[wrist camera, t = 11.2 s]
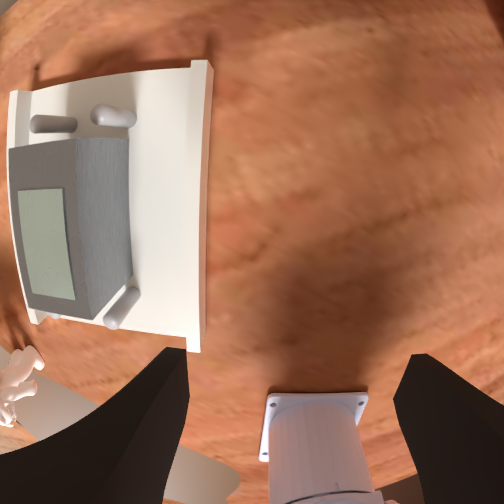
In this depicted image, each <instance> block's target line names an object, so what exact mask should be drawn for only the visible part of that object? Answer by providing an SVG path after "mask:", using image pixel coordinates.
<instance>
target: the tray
mask: <svg viewBox="0 0 504 504" xmlns="http://www.w3.org/2000/svg"><path fill="white" fill-rule="evenodd" d="M213 80H214V70H213V68H212V66H211V65H210V63H209V61H208V60H191V68H174V69H159V70H147V71H137V72H129V73H121V74H114V75H107V76H100V77H95V78H89V79H83V80H78V81H73V82H69V83H64V84H60V85H55V86H51V87H47V88H43V89H39V90H35V91H26V90H15V91H12V92H10V99H9V110H8V126H7V185H8V200H9V212H10V221H11V230H12V237H13V244H14V251H15V257H16V262H17V268H18V273H19V278H20V282H21V287H22V291H23V296H24V300H25V304H26V308H27V311H28V315H29V319H30V322H31V323H33V324H37V325H39V324H40V323H41V322H42V321H43V320H44V319H45V318H46V317H47V316H48V315H50V316H51V317H52V318H54V319H58V318H59V317H60V318H65V319H70V320H75V321H80V322H86V323H91V324H97V325H103V326H106V327H107V328H109V329H111V330H116V329H117V328H121V329H128V330H134V331H142V332H149V333H156V334H164V335H173V336H181V337H186V340H187V351H189V352H198V353H200V352H201V348H202V344H203V341H204V337H205V334H206V219H207V187H208V162H209V142H210V124H211V108H212V94H213ZM73 138H118V139H129V214H130V235H131V251H132V264H133V276H132V277H131V278H130V279H129V280H128V281H127V282H126V283H125V284H124V286H123V287H122V288H121V289H120V290H119V291H118V292H117V293H116V294H115V296H114V297H113V298H112V299H111V300H110V301H109V302H108V303H107V305H106V306H105V307H104V308H103V309H102V310H101V311H100V312H99V314H98V315H97V316H96V317H95V318H94V319H93V320H87V319H82V318H76V317H71V316H65V315H60V314H55V313H50V312H45V311H40V310H36V309H31V308H29V307H28V303H27V299H26V295H25V291H24V287H23V282H22V277H21V273H20V267H19V262H18V257H17V251H16V244H15V238H14V230H13V222H12V213H11V202H10V188H9V156H8V151H9V148H14V147H19V146H25V145H31V144H37V143H44V142H50V141H58V140H65V139H73Z"/></svg>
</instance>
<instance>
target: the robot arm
mask: <svg viewBox="0 0 504 504" xmlns="http://www.w3.org/2000/svg"><path fill="white" fill-rule="evenodd" d="M189 398H190V394H189V383H188V370H187V357H186V349H179V348H171V347H166V348H165V349H163V350H162V351H161V352H160V353H159V354H158V355H157V356H156V357H155V358H154V359H153V360H152V361H151V362H150V363H149V364H148V365H147V366H146V367H145V368H144V369H143V370H142V371H141V372H140V373H139V374H138V375H137V376H136V377H134V378H133V379H132V380H131V381H130V382H129V383H128V384H127V385H126V386H125V387H123V388H122V389H121V390H120V391H119V392H117V393H116V394H115V395H114V396H112V397H111V398H110V399H109V400H107V401H106V402H105V403H104V404H102V405H101V406H100V407H98V408H97V409H96V410H94V411H93V412H91V413H90V414H88V415H87V416H85V417H84V418H82V419H81V420H79V421H78V422H76V423H74V424H73V425H71V426H69V427H67V428H66V429H63V430H62V431H60V432H58V433H56V434H54V435H52V436H50V437H48V438H46V439H44V440H41V441H39V442H36V443H34V444H31V445H29V446H26V447H24V448H21V449H18V450H15V451H12V452H8V453H5V454H1V455H0V504H162V501H163V496H164V490H165V486H166V482H167V479H168V475H169V472H170V469H171V466H172V463H173V460H174V456H175V453H176V450H177V447H178V444H179V441H180V437H181V434H182V431H183V428H184V425H185V420H186V415H187V409H188V403H189ZM368 399H369V396H368V394H367V393H366V392H352V393H321V394H292V393H271V394H269V395H268V397H267V402H266V410H265V417H264V424H263V431H262V438H261V444H260V451H259V460H260V461H263V462H269V504H398V503H397V502H395V501H394V500H388V501H385V502H384V501H383V497H382V494H381V491H376V492H375V490H374V487H373V483H372V479H371V475H370V471H369V468H368V464H367V460H366V457H365V453H364V450H363V446H362V443H361V439H360V436H359V432H358V429H357V425H358V422H359V420H360V418H361V415H362V413H363V411H364V408H365V406H366V403H367V401H368ZM393 400H394V405H395V409H396V414H397V418H398V421H399V425H400V427H401V430H402V433H403V435H404V438H405V440H406V443H407V446H408V448H409V451H410V453H411V456H412V459H413V461H414V464H415V466H416V469H417V472H418V475H419V478H420V482H421V486H422V491H423V496H424V501H425V504H504V405H502V404H500V403H499V402H497V401H495V400H494V399H492V398H491V397H489V396H488V395H486V394H484V393H483V392H481V391H480V390H478V389H477V388H476V387H474V386H473V385H471V384H470V383H469V382H467V381H466V380H464V379H463V378H462V377H460V376H459V375H457V374H456V373H455V372H453V371H452V370H450V369H449V368H448V367H446V366H445V365H443V364H442V363H441V362H439V361H438V360H436V359H435V358H433V357H431V356H430V355H428V354H414V355H411V358H410V360H409V363H408V365H407V368H406V370H405V373H404V375H403V377H402V380H401V382H400V384H399V387H398V389H397V391H396V394H395V396H394V398H393ZM361 401H362V402H361ZM271 403H275V404H271Z"/></svg>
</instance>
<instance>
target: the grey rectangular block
mask: <svg viewBox="0 0 504 504" xmlns="http://www.w3.org/2000/svg"><path fill="white" fill-rule="evenodd" d="M8 156H9V188H10V202H11V213H12V222H13V230H14V238H15V244H16V251H17V257H18V262H19V267H20V273H21V277H22V282H23V287H24V291H25V295H26V299H27V303H28V307H29V308H31V309H36V310H40V311H45V312H50V313H55V314H60V315H65V316H71V317H76V318H82V319H87V320H93V319H94V318H95V317H96V316H97V315H98V314H99V312H100V311H101V310H102V309H103V308H104V307H105V306H106V305H107V303H108V302H109V301H110V300H111V299H112V298H113V297H114V296H115V294H116V293H117V292H118V291H119V290H120V289H121V288H122V287H123V286H124V284H125V283H126V282H127V281H128V280H129V279H130V278H131V277H132V276H133V264H132V251H131V235H130V214H129V139H118V138H73V139H65V140H58V141H50V142H44V143H37V144H31V145H25V146H19V147H14V148H9V151H8Z"/></svg>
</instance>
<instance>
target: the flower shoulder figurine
mask: <svg viewBox="0 0 504 504" xmlns="http://www.w3.org/2000/svg"><path fill="white" fill-rule="evenodd" d="M44 366H45V363H44V361H43V359H42V357H41V356H40V354H39V353H38V352H37V350H36V349H35V348H34V347H33V346H30V345H29V346H27V347H26V348H25V349H24V350H23V351H21V350H20V349H16V350H15V351H14V352H13V353H12V355H11V357H10V360H9V363H8V366H7V367H5V368H4V369H2V370H0V425H3V426H8V427H13V425H11V424H8V423H11V421H12V420H14V421H16V419H17V416H16V415H15V404H14V402H12V401H15V400H18V399H20V398H21V397H24V396H33V395H35V394H36V392H37V382H35V380H34V379H32V380H31V381H29V382H23V381H24V380H25V379H26V378H27V377H28V376H29V375H30V374H31V371H32V369H33V367H35V368H37V369H38V370H41V369H43V367H44ZM8 404H9V405H10V406H11V407H12V409H13V415H11V413H10V411H9V410H8V409H7V408H6V406H7V405H8ZM13 418H14V419H13Z"/></svg>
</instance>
